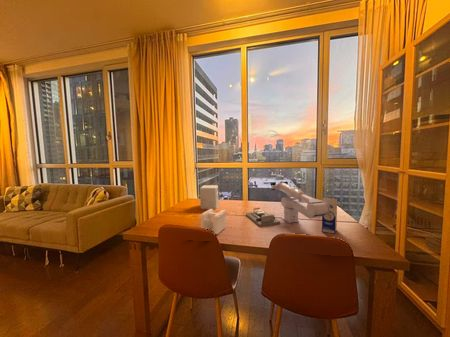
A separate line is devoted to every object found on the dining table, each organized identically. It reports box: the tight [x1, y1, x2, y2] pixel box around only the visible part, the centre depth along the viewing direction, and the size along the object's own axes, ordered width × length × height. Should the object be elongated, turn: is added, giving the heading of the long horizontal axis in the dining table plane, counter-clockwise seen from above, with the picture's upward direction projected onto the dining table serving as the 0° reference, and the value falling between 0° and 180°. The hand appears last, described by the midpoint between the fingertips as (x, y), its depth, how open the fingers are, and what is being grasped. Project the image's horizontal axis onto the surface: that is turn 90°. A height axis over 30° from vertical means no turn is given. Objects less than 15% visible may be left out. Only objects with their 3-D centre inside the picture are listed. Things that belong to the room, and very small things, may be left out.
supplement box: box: [199, 184, 220, 210], centre depth 179 cm, size 13×13×18 cm
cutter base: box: [245, 211, 281, 227], centre depth 145 cm, size 24×14×6 cm, turn 15°
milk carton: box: [321, 196, 338, 235], centre depth 121 cm, size 7×7×20 cm
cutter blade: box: [252, 207, 266, 215], centre depth 149 cm, size 9×5×4 cm, turn 15°
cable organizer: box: [200, 209, 228, 235], centre depth 127 cm, size 15×11×12 cm
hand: (275, 183), depth 159 cm, fingers open, 7 cm apart
